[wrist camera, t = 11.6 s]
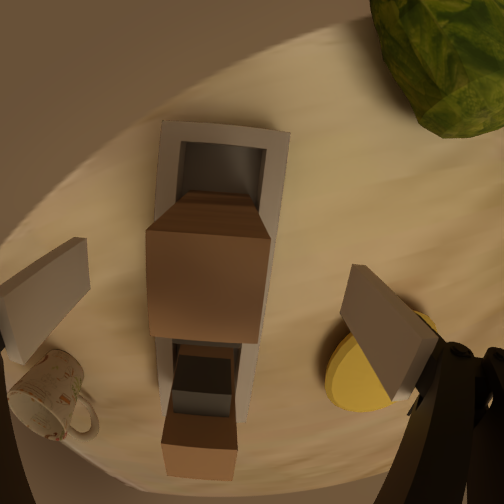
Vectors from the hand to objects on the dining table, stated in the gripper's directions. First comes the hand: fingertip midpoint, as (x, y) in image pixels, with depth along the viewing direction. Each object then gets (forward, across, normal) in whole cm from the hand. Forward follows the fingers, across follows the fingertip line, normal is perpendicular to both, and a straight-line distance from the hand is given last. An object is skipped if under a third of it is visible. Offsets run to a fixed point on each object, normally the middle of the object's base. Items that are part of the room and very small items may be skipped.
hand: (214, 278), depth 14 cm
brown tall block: (+12, -1, -1) cm, 13 cm away
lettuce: (+15, +17, +22) cm, 32 cm away
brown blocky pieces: (+14, -1, -7) cm, 16 cm away
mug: (+14, -19, -23) cm, 33 cm away
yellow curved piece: (+15, +20, -15) cm, 29 cm away
